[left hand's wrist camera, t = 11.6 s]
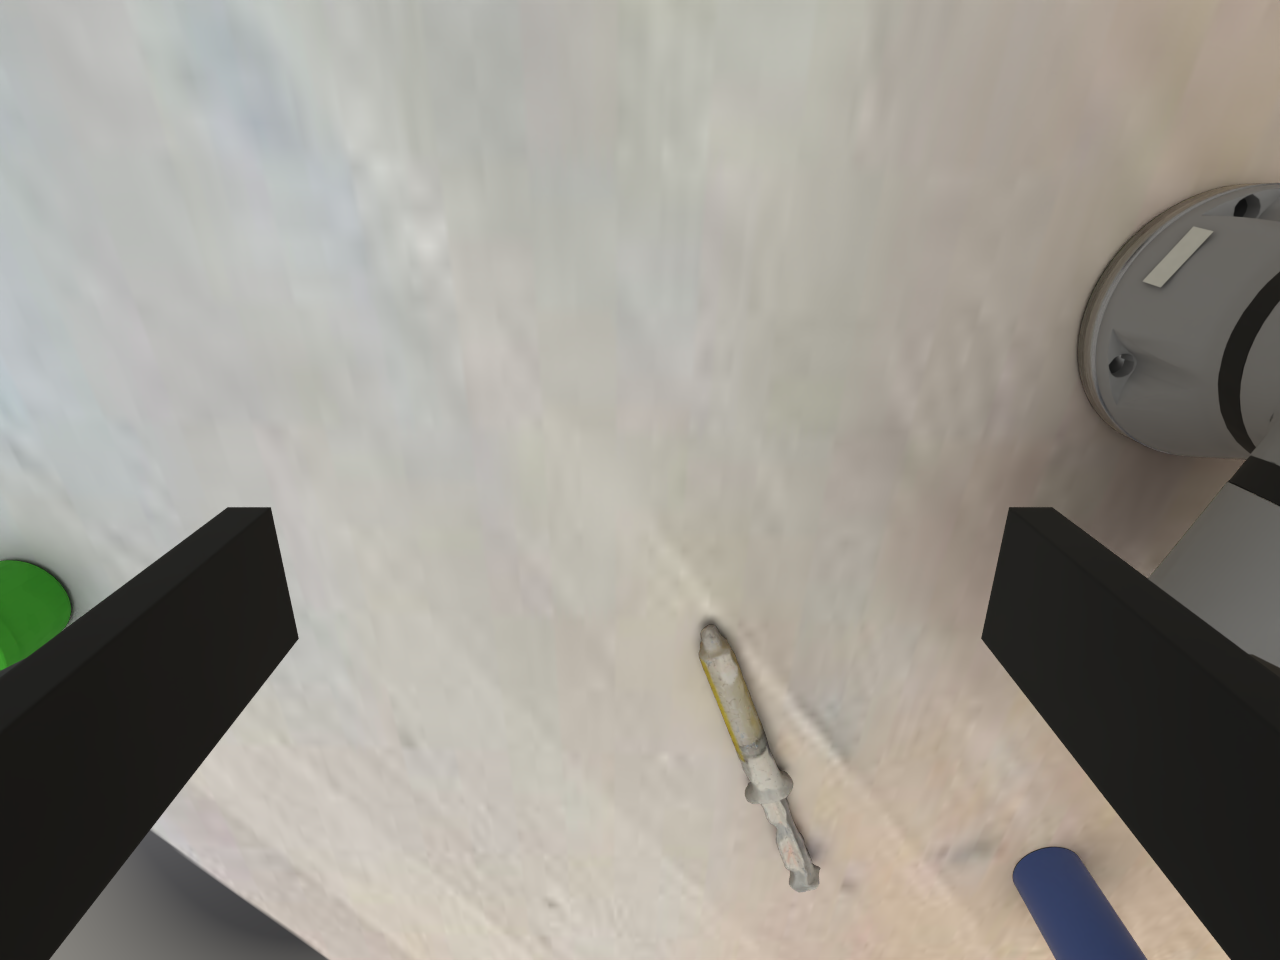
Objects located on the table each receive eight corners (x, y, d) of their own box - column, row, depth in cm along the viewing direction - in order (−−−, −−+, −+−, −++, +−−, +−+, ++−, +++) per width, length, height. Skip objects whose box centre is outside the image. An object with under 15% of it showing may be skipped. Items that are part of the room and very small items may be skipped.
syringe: (687, 624, 49) (689, 648, 46) (739, 610, 48) (744, 633, 46) (773, 869, 58) (779, 900, 55) (818, 859, 57) (826, 890, 55)
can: (1085, 843, 57) (1176, 976, 47) (1078, 892, 59) (1164, 1029, 49) (1015, 850, 57) (1092, 983, 47) (1010, 898, 59) (1082, 1035, 50)
